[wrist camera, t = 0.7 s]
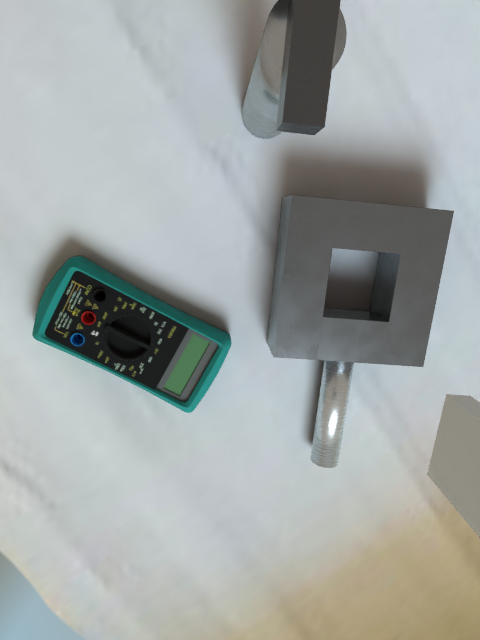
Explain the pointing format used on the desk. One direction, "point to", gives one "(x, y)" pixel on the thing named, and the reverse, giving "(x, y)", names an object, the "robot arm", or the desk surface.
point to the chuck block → (353, 325)
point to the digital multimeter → (130, 333)
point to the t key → (294, 68)
